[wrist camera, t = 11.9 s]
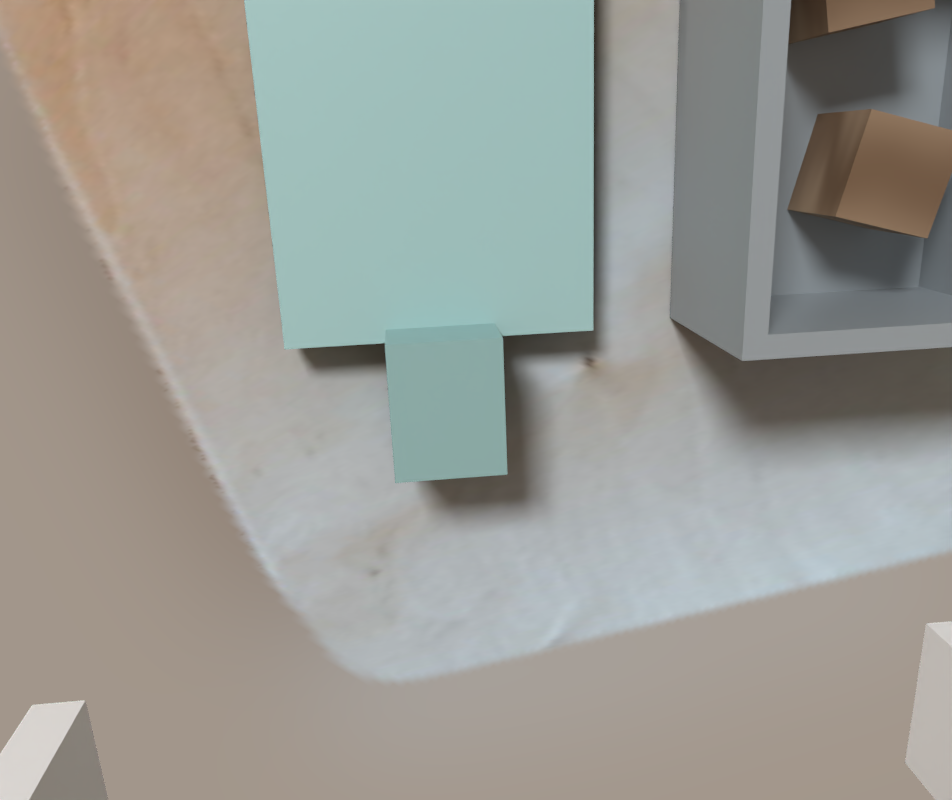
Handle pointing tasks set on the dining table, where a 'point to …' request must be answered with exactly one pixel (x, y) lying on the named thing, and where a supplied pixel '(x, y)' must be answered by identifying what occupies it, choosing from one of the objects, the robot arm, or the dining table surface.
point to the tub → (774, 177)
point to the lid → (429, 196)
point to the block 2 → (874, 171)
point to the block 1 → (846, 15)
